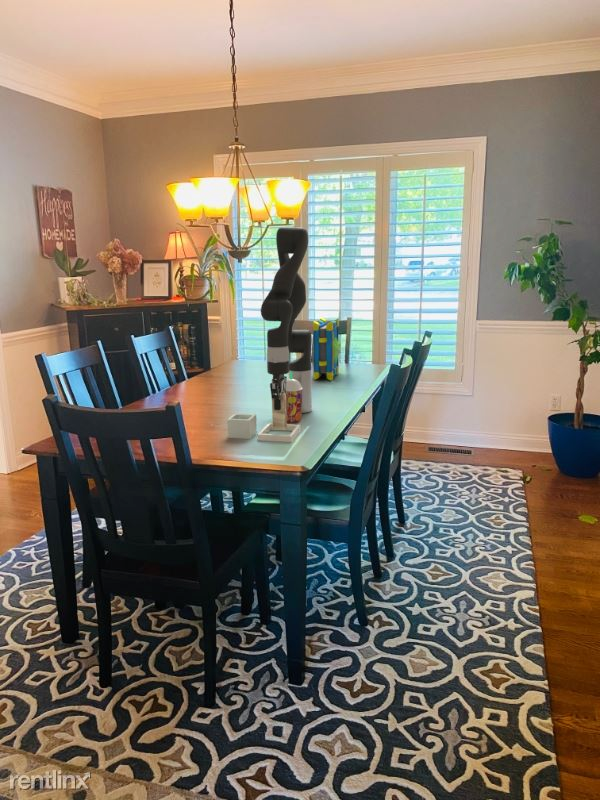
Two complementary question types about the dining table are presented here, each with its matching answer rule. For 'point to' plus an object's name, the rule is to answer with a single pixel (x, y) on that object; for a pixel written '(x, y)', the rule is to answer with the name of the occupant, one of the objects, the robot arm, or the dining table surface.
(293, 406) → the smoothie
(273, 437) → the plastic tray
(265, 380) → the dining table surface
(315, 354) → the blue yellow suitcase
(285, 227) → the robot arm
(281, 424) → the birch peg
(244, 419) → the white open box
